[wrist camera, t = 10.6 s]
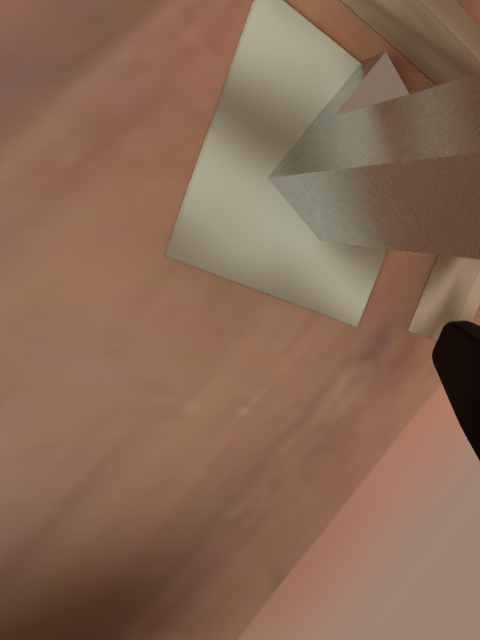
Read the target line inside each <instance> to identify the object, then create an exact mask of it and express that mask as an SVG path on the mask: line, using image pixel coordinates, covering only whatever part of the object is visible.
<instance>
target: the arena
mask: <svg viewBox="0 0 480 640" xmlns="http://www.w3.org/2000/svg"><path fill="white" fill-rule="evenodd" d="M341 1H342V2H343V3H344V4H346V5H347V6H348V7H349V8H350V9H351V10H352V11H354V12H355V13H356V14H357V15H358V16H359V17H360V18H361V19H363V20H364V21H365V22H366V23H367V24H368V25H369V26H370V27H372V28H373V29H374V30H375V31H376V32H377V33H378V34H380V35H381V36H382V37H383V38H384V39H385V40H386V41H387V42H389V43H390V44H391V45H392V46H393V47H394V48H395V49H396V50H398V51H399V52H400V53H401V54H402V55H403V56H404V57H405V58H407V59H408V60H409V61H410V62H411V63H412V64H413V65H415V66H416V67H417V68H418V69H419V70H420V71H421V72H422V73H424V74H425V75H426V76H427V77H428V78H429V79H430V80H431V81H433V82H434V83H435V84H436V85H437V86H438V85H442V84H445V83H449V82H452V81H455V80H459V79H462V78H466V77H469V76H472V75H476V74H479V73H480V25H479V24H478V23H477V22H476V21H475V20H474V19H473V18H472V17H471V15H470V14H469V13H468V12H467V11H466V10H465V9H464V8H463V7H462V6H461V5H460V3H459V2H458V1H457V0H341ZM359 65H360V62H358V61H357V60H356V59H355V58H354V57H352V56H351V55H350V54H349V53H347V52H346V51H345V50H344V49H342V48H341V47H340V46H339V45H337V44H336V43H335V42H334V41H333V40H331V39H330V38H329V37H328V36H326V35H325V34H324V33H323V32H321V31H320V30H319V29H318V28H316V27H315V26H314V25H313V24H312V23H310V22H309V21H308V20H307V19H305V18H304V17H303V16H302V15H300V14H299V13H298V12H297V11H296V10H294V9H293V8H292V7H291V6H289V5H288V4H287V3H286V2H284V1H283V0H253V3H252V6H251V9H250V12H249V15H248V17H247V20H246V23H245V26H244V29H243V32H242V35H241V37H240V40H239V43H238V46H237V49H236V52H235V55H234V57H233V60H232V63H231V66H230V69H229V72H228V75H227V77H226V80H225V83H224V86H223V89H222V92H221V95H220V97H219V100H218V103H217V106H216V109H215V112H214V115H213V117H212V120H211V123H210V126H209V129H208V132H207V135H206V137H205V140H204V143H203V146H202V149H201V152H200V155H199V157H198V160H197V163H196V166H195V169H194V172H193V175H192V177H191V180H190V183H189V186H188V189H187V192H186V195H185V197H184V200H183V203H182V206H181V209H180V212H179V215H178V217H177V220H176V223H175V226H174V229H173V232H172V235H171V237H170V240H169V243H168V246H167V249H166V252H165V255H164V256H167V257H169V258H172V259H175V260H177V261H180V262H183V263H185V264H188V265H191V266H193V267H196V268H199V269H202V270H204V271H207V272H210V273H212V274H215V275H218V276H220V277H223V278H226V279H229V280H231V281H234V282H237V283H239V284H242V285H245V286H247V287H250V288H253V289H255V290H258V291H261V292H264V293H266V294H269V295H272V296H274V297H277V298H280V299H282V300H285V301H288V302H291V303H293V304H296V305H299V306H301V307H304V308H307V309H309V310H312V311H315V312H317V313H320V314H323V315H326V316H328V317H331V318H334V319H336V320H339V321H342V322H344V323H347V324H350V325H353V326H355V327H357V326H358V324H359V321H360V319H361V316H362V314H363V311H364V308H365V306H366V303H367V301H368V298H369V296H370V293H371V291H372V288H373V286H374V283H375V280H376V278H377V275H378V273H379V270H380V268H381V265H382V263H383V260H384V257H385V255H386V252H387V250H388V249H385V248H376V247H368V246H359V245H350V244H342V243H333V242H325V241H320V240H319V239H318V237H317V236H316V235H315V234H314V233H313V231H312V230H311V229H310V228H309V227H308V226H307V224H306V223H305V222H304V221H303V220H302V218H301V217H300V216H299V215H298V214H297V213H296V211H295V210H294V209H293V208H292V207H291V205H290V204H289V203H288V202H287V201H286V200H285V198H284V197H283V196H282V195H281V194H280V192H279V191H278V190H277V189H276V188H275V187H274V185H273V184H272V183H271V182H270V181H269V179H268V176H269V175H270V174H271V173H272V171H273V170H274V169H275V168H276V167H277V165H278V164H279V163H280V162H281V160H282V159H283V158H284V157H285V156H286V154H287V153H288V152H289V151H290V149H291V148H292V147H293V146H294V144H295V143H296V142H297V141H298V140H299V138H300V137H301V136H302V135H303V133H304V132H305V131H306V130H307V128H308V127H309V126H310V125H311V124H312V122H313V121H314V120H315V119H316V117H317V116H318V115H319V114H320V113H321V111H322V110H323V109H324V108H325V106H326V105H327V104H328V103H329V101H330V100H331V99H332V98H333V97H334V95H335V94H336V93H337V92H338V90H339V89H340V88H341V87H342V85H343V84H344V83H345V82H346V81H347V79H348V78H349V77H350V76H351V74H352V73H353V72H354V71H355V69H356V68H357V67H358V66H359ZM479 305H480V260H479V259H470V258H461V257H453V256H444V255H438V257H437V260H436V262H435V264H434V267H433V269H432V272H431V274H430V277H429V279H428V282H427V284H426V287H425V289H424V292H423V294H422V297H421V299H420V302H419V304H418V307H417V309H416V312H415V314H414V317H413V319H412V322H411V324H410V327H409V329H408V331H410V332H412V333H415V334H417V335H420V336H423V337H426V338H429V339H432V340H435V341H437V340H438V337H439V335H440V333H441V330H442V328H443V326H444V325H445V324H446V323H447V322H450V321H462V320H466V321H470V322H473V319H474V317H475V314H476V312H477V309H478V307H479Z"/></svg>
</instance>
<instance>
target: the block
mask: <svg viewBox="0 0 480 640" xmlns="http://www.w3.org/2000/svg"><path fill="white" fill-rule="evenodd" d="M268 179H269V181H270V182H271V183H272V184H273V185H274V187H275V188H276V189H277V190H278V191H279V192H280V194H281V195H282V196H283V197H284V198H285V200H286V201H287V202H288V203H289V204H290V205H291V207H292V208H293V209H294V210H295V211H296V213H297V214H298V215H299V216H300V217H301V218H302V220H303V221H304V222H305V223H306V224H307V226H308V227H309V228H310V229H311V230H312V231H313V233H314V234H315V235H316V236H317V237H318V239H319V240H320V241H325V242H333V243H342V244H350V245H359V246H368V247H376V248H385V249H393V250H402V251H410V252H419V253H427V254H436V255H444V256H453V257H461V258H470V259H479V260H480V73H479V74H476V75H472V76H469V77H466V78H462V79H459V80H455V81H452V82H449V83H445V84H442V85H438V86H435V87H432V88H428V89H425V90H422V91H418V92H415V93H411V94H409V92H408V91H407V89H406V87H405V85H404V83H403V82H402V80H401V78H400V76H399V74H398V73H397V71H396V69H395V67H394V65H393V64H392V62H391V60H390V58H389V56H388V55H387V53H386V52H384V53H381V54H379V55H377V56H374V57H372V58H370V59H367V60H365V61H363V62H361V63H360V65H359V66H358V67H357V68H356V69H355V71H354V72H353V73H352V74H351V76H350V77H349V78H348V79H347V81H346V82H345V83H344V84H343V85H342V87H341V88H340V89H339V90H338V92H337V93H336V94H335V95H334V97H333V98H332V99H331V100H330V101H329V103H328V104H327V105H326V106H325V108H324V109H323V110H322V111H321V113H320V114H319V115H318V116H317V117H316V119H315V120H314V121H313V122H312V124H311V125H310V126H309V127H308V128H307V130H306V131H305V132H304V133H303V135H302V136H301V137H300V138H299V140H298V141H297V142H296V143H295V144H294V146H293V147H292V148H291V149H290V151H289V152H288V153H287V154H286V156H285V157H284V158H283V159H282V160H281V162H280V163H279V164H278V165H277V167H276V168H275V169H274V170H273V171H272V173H271V174H270V175H269V176H268Z"/></svg>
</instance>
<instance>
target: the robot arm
mask: <svg viewBox="0 0 480 640" xmlns="http://www.w3.org/2000/svg"><path fill="white" fill-rule="evenodd" d="M432 359H433V363H434V366H435V368H436V370H437V373H438V375H439V377H440V380H441V382H442V384H443V387H444V389H445V391H446V394H447V396H448V398H449V401H450V403H451V405H452V408H453V410H454V412H455V415H456V417H457V419H458V421H459V423H460V426H461V427H462V429H463V431H464V433H465V435H466V437H467V439H468V441H469V442H470V444H471V446H472V448H473V449H474V451H475V453H476V455H477V457H478V459H479V460H480V326H478V325H476V324H474V323H472V322H470V321H466V320H462V321H450V322H447V323H446V324H445V325H444V326H443V328H442V330H441V333H440V335H439V337H438V340H437V342H436V344H435V347H434V349H433V353H432Z"/></svg>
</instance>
